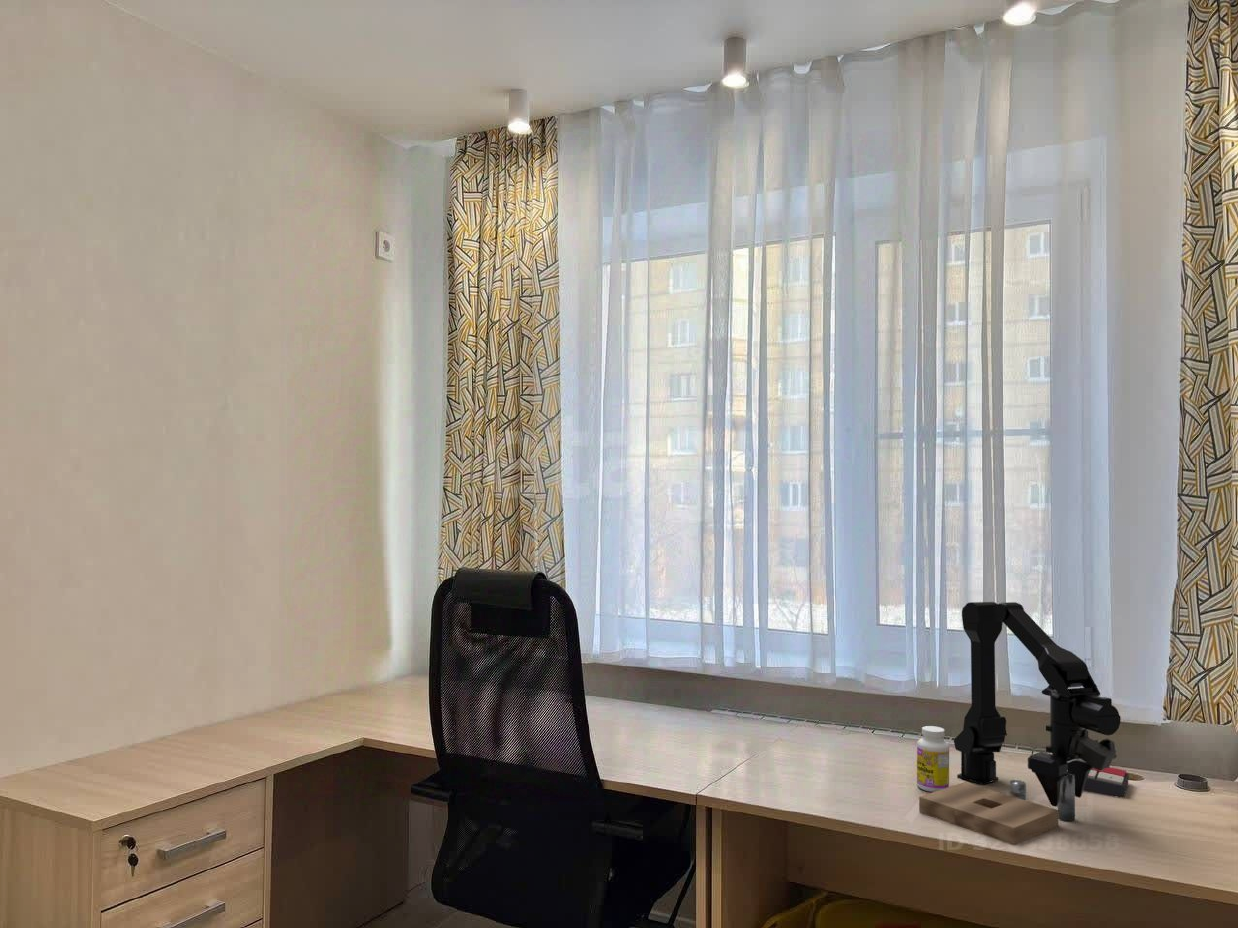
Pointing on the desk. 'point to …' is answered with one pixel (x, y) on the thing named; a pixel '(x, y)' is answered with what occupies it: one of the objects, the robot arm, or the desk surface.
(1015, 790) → the short metal pin
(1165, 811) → the desk surface
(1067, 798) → the long metal pin
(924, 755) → the supplement bottle
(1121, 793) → the dark boxy piece
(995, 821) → the walnut hole board
